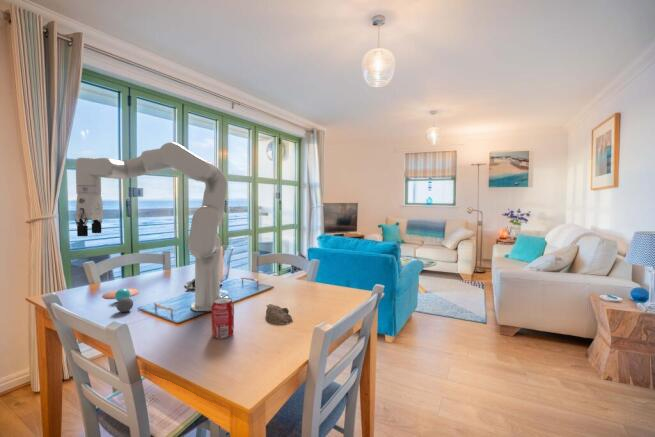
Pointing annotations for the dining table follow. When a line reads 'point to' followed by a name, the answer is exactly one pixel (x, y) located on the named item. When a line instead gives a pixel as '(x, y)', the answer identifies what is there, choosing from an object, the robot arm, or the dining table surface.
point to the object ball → (122, 294)
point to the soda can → (222, 317)
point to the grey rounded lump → (124, 304)
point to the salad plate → (191, 285)
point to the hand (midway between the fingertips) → (89, 234)
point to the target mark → (112, 294)
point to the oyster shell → (277, 314)
